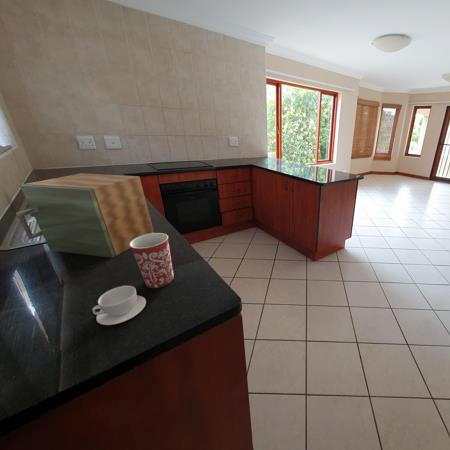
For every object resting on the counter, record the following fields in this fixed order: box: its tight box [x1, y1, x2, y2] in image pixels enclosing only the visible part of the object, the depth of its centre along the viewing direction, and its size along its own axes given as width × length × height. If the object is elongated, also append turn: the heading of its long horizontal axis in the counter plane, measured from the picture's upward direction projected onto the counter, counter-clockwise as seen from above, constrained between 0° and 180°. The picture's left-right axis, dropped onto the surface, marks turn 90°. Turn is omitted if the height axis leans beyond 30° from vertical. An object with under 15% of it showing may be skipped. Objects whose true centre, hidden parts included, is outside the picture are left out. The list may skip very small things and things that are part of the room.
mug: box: [129, 232, 175, 289], centre depth 68 cm, size 13×9×14 cm
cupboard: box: [24, 172, 155, 257], centre depth 87 cm, size 18×26×24 cm
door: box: [16, 184, 116, 258], centre depth 76 cm, size 6×26×24 cm, turn 80°
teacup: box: [92, 285, 147, 326], centre depth 57 cm, size 10×10×5 cm
